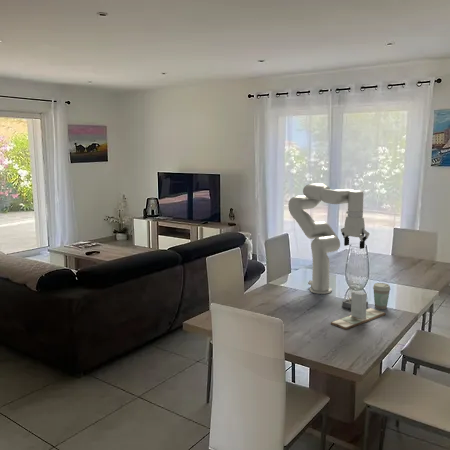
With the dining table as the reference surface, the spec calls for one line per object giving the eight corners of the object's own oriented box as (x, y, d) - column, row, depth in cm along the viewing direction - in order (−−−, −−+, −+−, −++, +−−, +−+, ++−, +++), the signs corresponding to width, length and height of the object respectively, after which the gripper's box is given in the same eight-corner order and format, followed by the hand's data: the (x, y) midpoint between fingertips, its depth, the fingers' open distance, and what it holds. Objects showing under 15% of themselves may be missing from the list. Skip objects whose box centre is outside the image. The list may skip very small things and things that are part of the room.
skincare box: (366, 317, 219) (367, 292, 216) (361, 319, 215) (362, 295, 213) (354, 314, 223) (355, 290, 221) (350, 316, 220) (351, 292, 218)
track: (330, 323, 214) (330, 321, 213) (370, 309, 231) (370, 307, 231) (346, 329, 206) (346, 327, 206) (385, 314, 224) (385, 312, 224)
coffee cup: (378, 311, 229) (379, 288, 227) (368, 305, 237) (369, 283, 235) (393, 309, 231) (394, 286, 229) (383, 303, 239) (384, 281, 237)
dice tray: (342, 306, 236) (342, 301, 235) (353, 303, 241) (353, 297, 241) (356, 311, 229) (356, 305, 228) (367, 307, 234) (367, 302, 234)
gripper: (337, 213, 239) (336, 245, 242) (364, 217, 225) (363, 250, 228) (346, 212, 243) (345, 243, 246) (374, 215, 230) (372, 248, 233)
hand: (354, 246), depth 237 cm, fingers open, 9 cm apart
